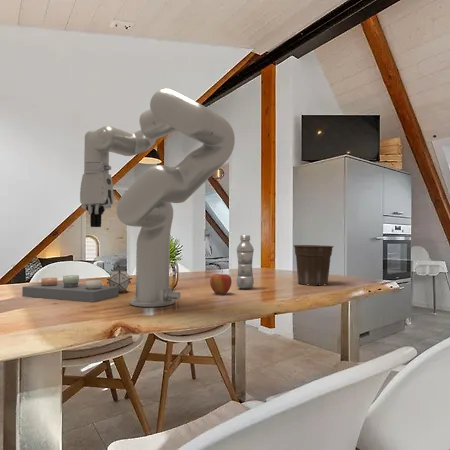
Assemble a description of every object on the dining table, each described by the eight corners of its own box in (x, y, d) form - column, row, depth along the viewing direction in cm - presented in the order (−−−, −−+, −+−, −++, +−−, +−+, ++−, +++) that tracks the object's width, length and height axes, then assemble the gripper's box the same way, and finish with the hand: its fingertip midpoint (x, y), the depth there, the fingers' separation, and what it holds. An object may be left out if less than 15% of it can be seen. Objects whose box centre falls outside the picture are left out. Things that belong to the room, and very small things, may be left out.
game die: (121, 303, 126) (122, 282, 121) (100, 294, 128) (100, 272, 122) (135, 288, 134) (137, 267, 128) (115, 279, 135) (116, 258, 130)
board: (118, 296, 120) (118, 286, 120) (93, 302, 108) (93, 291, 108) (51, 291, 129) (52, 282, 129) (22, 296, 118) (22, 286, 118)
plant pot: (336, 282, 158) (336, 245, 158) (330, 287, 143) (330, 246, 144) (298, 280, 164) (298, 244, 165) (289, 285, 150) (289, 245, 150)
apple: (207, 295, 123) (207, 271, 123) (213, 292, 130) (213, 269, 130) (228, 296, 121) (228, 271, 121) (233, 292, 128) (233, 269, 128)
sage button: (82, 289, 120) (82, 275, 120) (71, 291, 116) (71, 277, 116) (70, 288, 122) (70, 274, 122) (59, 290, 117) (59, 276, 118)
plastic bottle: (256, 288, 139) (257, 235, 140) (248, 290, 133) (248, 235, 134) (242, 287, 143) (242, 235, 143) (233, 289, 137) (233, 235, 138)
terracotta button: (60, 291, 123) (60, 278, 124) (49, 293, 119) (49, 279, 119) (49, 290, 125) (49, 277, 125) (37, 292, 121) (38, 278, 121)
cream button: (104, 295, 117) (104, 280, 117) (94, 297, 113) (94, 282, 113) (92, 294, 119) (92, 279, 119) (81, 296, 114) (82, 281, 114)
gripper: (123, 170, 120) (122, 227, 120) (85, 173, 125) (84, 227, 125) (108, 166, 113) (108, 226, 113) (69, 169, 118) (68, 226, 117)
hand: (95, 226), depth 119 cm, fingers closed
